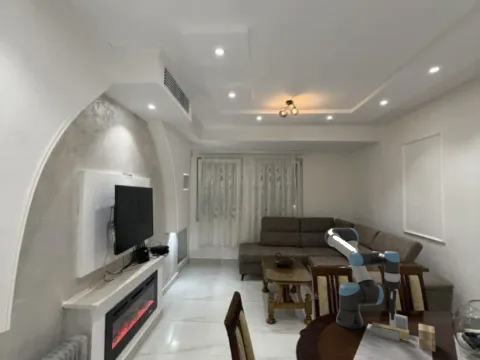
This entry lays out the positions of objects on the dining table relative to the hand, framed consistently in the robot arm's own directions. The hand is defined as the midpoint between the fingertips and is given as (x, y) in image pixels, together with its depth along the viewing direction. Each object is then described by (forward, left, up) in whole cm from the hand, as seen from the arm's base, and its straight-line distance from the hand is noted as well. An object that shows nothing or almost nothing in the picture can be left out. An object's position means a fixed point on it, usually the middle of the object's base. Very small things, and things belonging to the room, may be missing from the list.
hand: (392, 323), depth 160 cm
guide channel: (-4, 0, -8) cm, 9 cm away
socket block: (+16, 0, -8) cm, 17 cm away
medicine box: (+2, +12, -8) cm, 15 cm away
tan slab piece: (-2, 0, -6) cm, 6 cm away
